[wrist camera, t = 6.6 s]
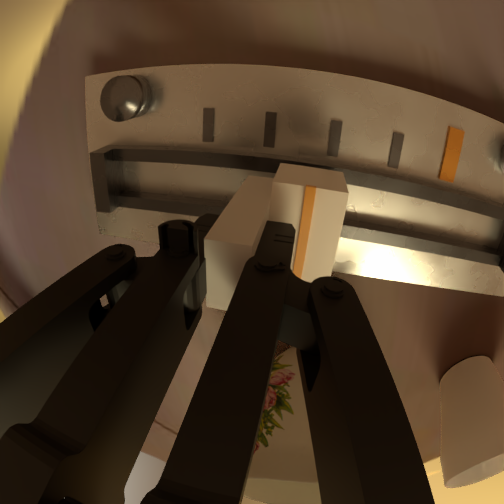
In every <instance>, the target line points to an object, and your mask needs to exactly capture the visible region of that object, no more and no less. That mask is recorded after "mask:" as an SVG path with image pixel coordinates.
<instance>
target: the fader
mask: <svg viewBox="0 0 504 504" xmlns="http://www.w3.org/2000/svg"><path fill="white" fill-rule="evenodd" d="M348 196H349V191H348V188H347V184H346V181H345V177H344V174H343V172H339V171H333V170H327V169H320V168H314V167H307V166H300V165H293V164H286V163H280V166H279V168H278V170H277V172H276V175H275V177H274V179H273V182H272V192H271V203H270V213H269V221H276V222H283V223H290V224H292V225H293V227H294V228H295V230H296V233H295V240H294V247H293V254H292V261H291V270H292V272H293V273H294V274H295V275H296V276H297V277H298V278H300V279H302V280H304V281H307V282H313V280H315V279H317V278H319V277H324V276H331V273H332V269H333V265H334V261H335V257H336V253H337V248H338V244H339V239H340V235H341V230H342V226H343V221H344V216H345V211H346V206H347V201H348Z"/></svg>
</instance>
